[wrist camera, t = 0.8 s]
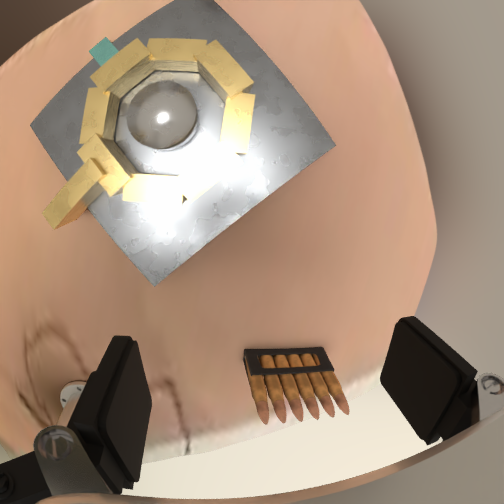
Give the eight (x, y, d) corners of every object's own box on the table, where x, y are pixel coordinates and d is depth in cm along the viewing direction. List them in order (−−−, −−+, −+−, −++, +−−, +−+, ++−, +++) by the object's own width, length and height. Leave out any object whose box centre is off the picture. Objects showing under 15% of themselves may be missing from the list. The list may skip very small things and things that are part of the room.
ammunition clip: (323, 346, 37) (358, 407, 25) (320, 357, 37) (353, 418, 26) (244, 349, 35) (257, 418, 24) (243, 360, 36) (255, 430, 24)
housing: (157, 279, 31) (146, 303, 25) (34, 120, 24) (6, 115, 18) (328, 146, 29) (353, 142, 24) (193, -10, 22) (190, -38, 16)
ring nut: (116, 267, 28) (99, 285, 23) (35, 161, 23) (9, 162, 18) (280, 133, 26) (293, 126, 21) (186, 25, 22) (182, 2, 17)
